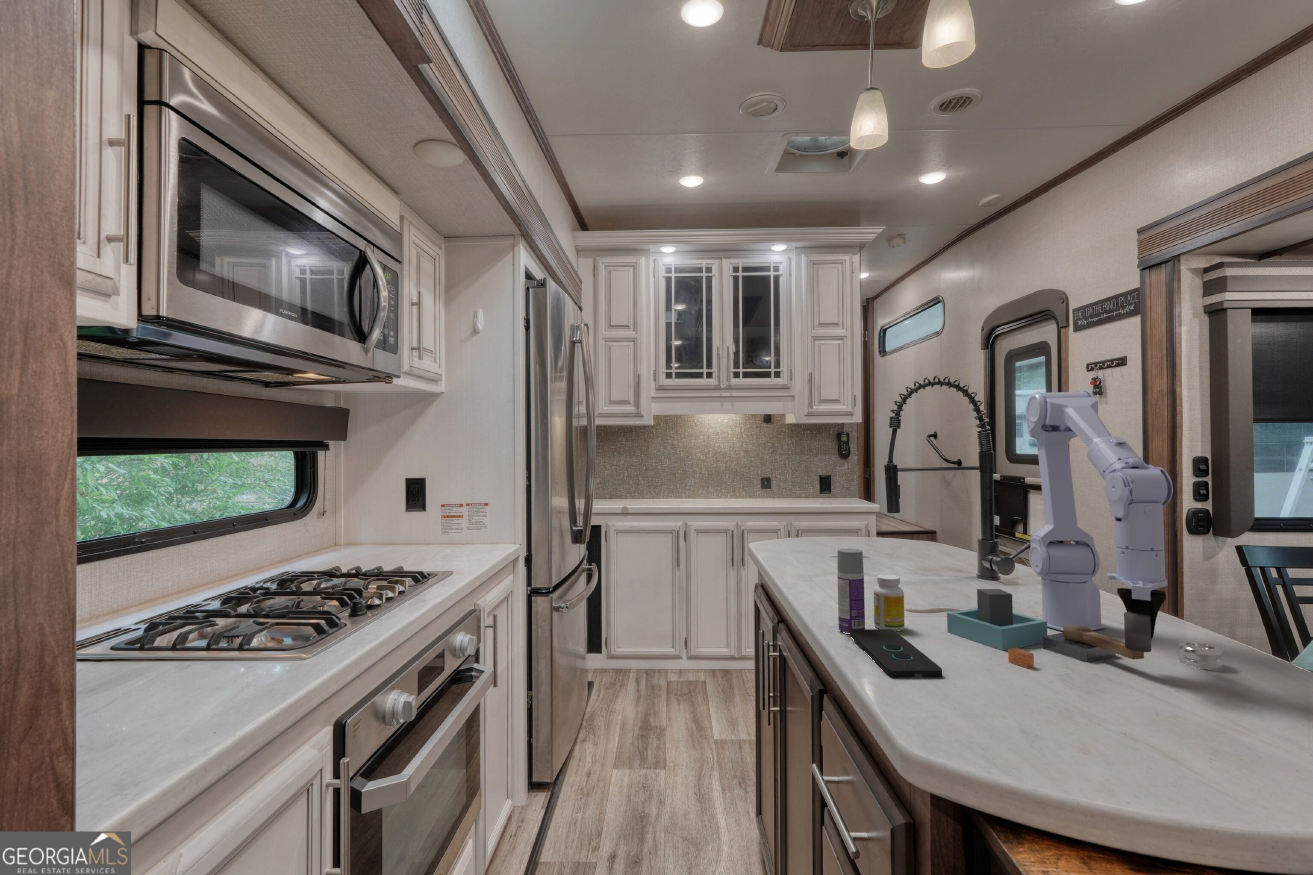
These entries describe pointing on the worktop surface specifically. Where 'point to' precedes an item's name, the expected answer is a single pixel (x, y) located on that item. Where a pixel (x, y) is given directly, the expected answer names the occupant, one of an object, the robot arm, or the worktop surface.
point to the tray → (997, 630)
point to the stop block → (995, 607)
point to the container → (850, 590)
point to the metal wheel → (1200, 655)
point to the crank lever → (1131, 648)
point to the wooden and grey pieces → (1060, 651)
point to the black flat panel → (895, 654)
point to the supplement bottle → (888, 603)
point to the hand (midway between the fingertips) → (1142, 638)
